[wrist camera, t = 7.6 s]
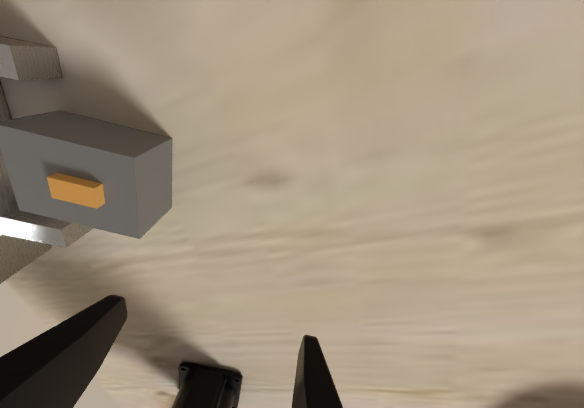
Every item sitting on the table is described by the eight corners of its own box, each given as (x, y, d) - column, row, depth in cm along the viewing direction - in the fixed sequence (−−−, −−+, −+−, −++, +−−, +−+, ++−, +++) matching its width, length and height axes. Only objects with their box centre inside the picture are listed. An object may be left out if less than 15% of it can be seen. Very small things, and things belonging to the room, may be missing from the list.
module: (173, 205, 19) (133, 245, 15) (75, 182, 19) (8, 215, 15) (173, 137, 17) (126, 162, 13) (62, 110, 17) (-22, 126, 13)
